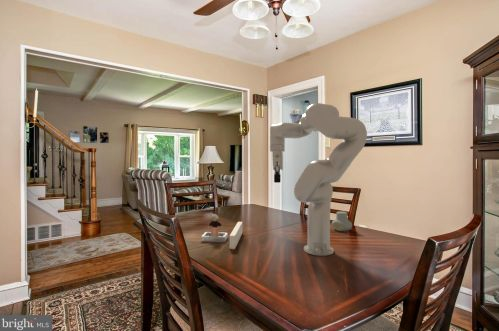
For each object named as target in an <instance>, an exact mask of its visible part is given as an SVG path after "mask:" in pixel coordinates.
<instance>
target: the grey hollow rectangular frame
mask: <svg viewBox="0 0 499 331" xmlns="http://www.w3.org/2000/svg"><path fill="white" fill-rule="evenodd" d="M228 236H229V233H228V232H219V234H218V236H211V231H205V232H204V233H203V234H202V235H201V239H200V240H201V242H203V243H205V242H207V243H213V242H214V243H226V242H227V240H228V238H229V237H228Z"/></svg>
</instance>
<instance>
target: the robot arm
mask: <svg viewBox="0 0 499 331" xmlns="http://www.w3.org/2000/svg"><path fill="white" fill-rule="evenodd" d="M314 131H318V132H319V133H321V135H323V136H325V137H326V138H329V139H332V140H333V139H334V140H342V141H341V142H340V143H339V144H338V145H337V146H335V147H334V149H333V150H332V151H331V153H330V154H329V155H328V157H327V158H325V159H316V160H313V161H310V162H309V163H308V164H307V166H306V167H305V168H304V170H303V171H302V173H301V174H300V176H299V177H298V179H297V181H296V183H295V185H294V188H293V195H294V197H295V199H296V200H297V201H298V202H300V203H308V207H307V244H306V245H304V246H303V251H304V252H306V254H308V255H312V256H317V257H318V256H319V257H326V256H331V255H332V254H334V251H335V250H334V248H333V247H332V246H331V205H332V204H331V203H332V199H333V193H334V192H333V189H334V188H333V185H332V184H333V183H337V182H338V181H339V180H340V179H341V178H342V176H343V175H345V173H346V171H347V170H348V169H349V168H350V166H351V164H352V162H353V161H354V160H355V159H356V157H357V156H358V155H359V154H360V153H361V151H362V150H363V149H364V147H365V144H366V142H367V140H368V139H367V137H368V131H367V127H366V125H365V124H364V122H363V121H362V120H359V119H357V118H354V117H348V116H341V115H340V111H339V109H338V108H337V107H336V106H334V105H332V104H327V103H321V102H320V103H318V102H314V103H312V104H310V105H309V106H307V107H306V110H305V112H304V113H303V114H302V116H301V117H300V122H299V123H295V122H294V123H292V122H280V123H277V124H272V125H270V128H269V140H270V141H269V151H270V152H271V153H272V154H271V155H272V157H271V158H272V169H273V171H274V173H273V183H278V184H279V183H281V171H283V170H284V169H283V168H284V155H283V152H285V148H286V147H285V146H286V144H285V143H286V142H285V139H300V138H304V137H307V136H309V135H311V134H312V132H314Z"/></svg>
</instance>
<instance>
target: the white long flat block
mask: <svg viewBox="0 0 499 331" xmlns="http://www.w3.org/2000/svg"><path fill="white" fill-rule="evenodd" d="M242 234H243V221H238V222H237V223H236V224H235V226H234V227H233V230H232V231H231V233H230V234H229V250H230V249H231V250H235V249H236V248H237V245H238V243H239V241H240V239H241V236H242Z"/></svg>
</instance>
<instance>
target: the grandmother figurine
mask: <svg viewBox="0 0 499 331" xmlns="http://www.w3.org/2000/svg"><path fill="white" fill-rule="evenodd" d="M211 218H212V219H211V221H210V222H209V223H208V226H207V228H208V229H210V228H211V231H210V232H211V236H218V234H219V228H220V229H221V230H222V229H223V224H222V223H221V222H219V221H218V219H219V216H218V215H217V213H213V214H212V215H211Z"/></svg>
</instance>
